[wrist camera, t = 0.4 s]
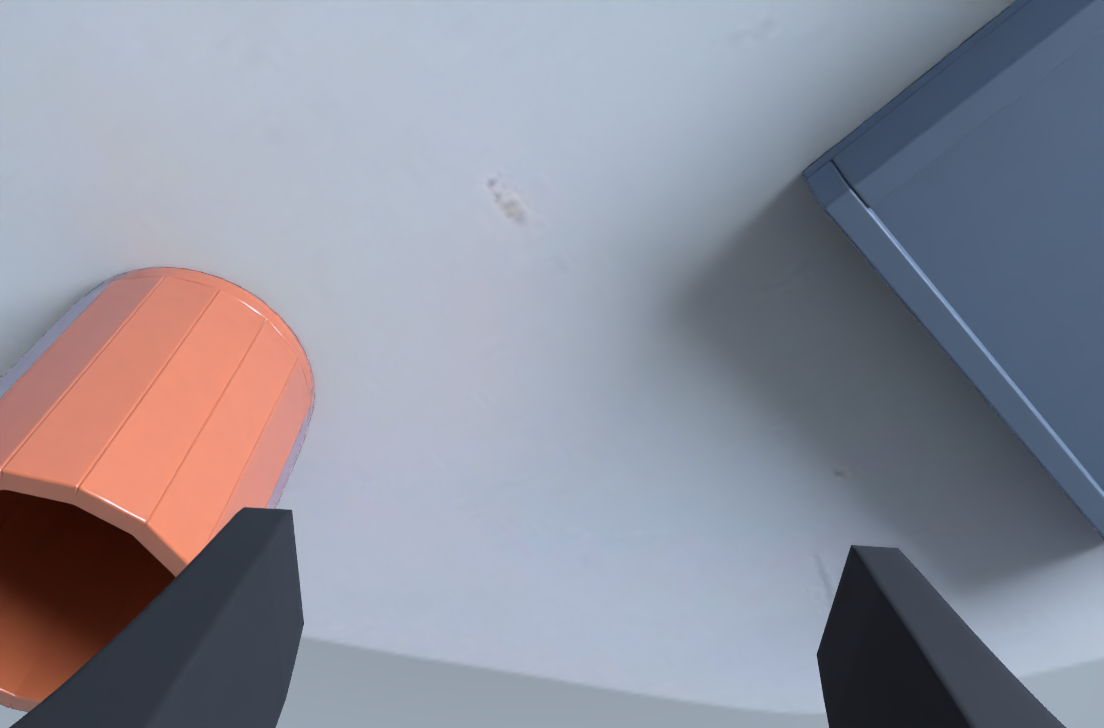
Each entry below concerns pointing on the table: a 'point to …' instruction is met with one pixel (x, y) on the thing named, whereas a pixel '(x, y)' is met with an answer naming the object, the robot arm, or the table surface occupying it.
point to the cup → (133, 457)
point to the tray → (999, 223)
